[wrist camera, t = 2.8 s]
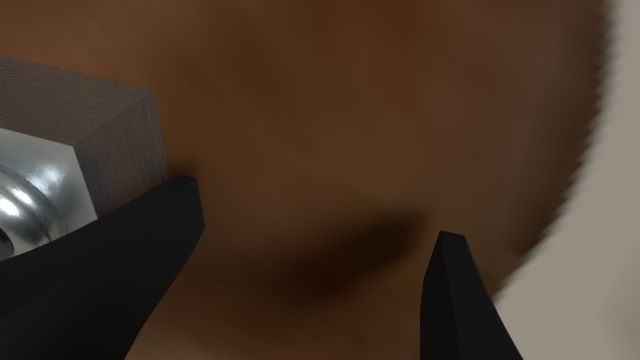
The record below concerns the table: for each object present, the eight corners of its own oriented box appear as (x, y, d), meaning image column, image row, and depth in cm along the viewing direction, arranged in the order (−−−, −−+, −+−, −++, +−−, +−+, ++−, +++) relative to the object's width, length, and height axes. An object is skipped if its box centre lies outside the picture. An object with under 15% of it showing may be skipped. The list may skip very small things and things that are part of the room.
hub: (180, 225, 16) (100, 328, 12) (48, 189, 16) (-63, 275, 13) (157, 86, 12) (32, 174, 8) (-12, 47, 13) (-192, 113, 9)
